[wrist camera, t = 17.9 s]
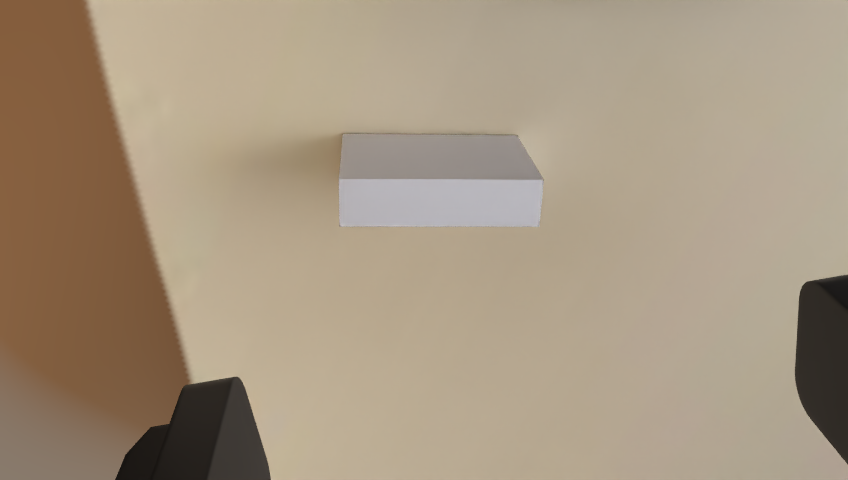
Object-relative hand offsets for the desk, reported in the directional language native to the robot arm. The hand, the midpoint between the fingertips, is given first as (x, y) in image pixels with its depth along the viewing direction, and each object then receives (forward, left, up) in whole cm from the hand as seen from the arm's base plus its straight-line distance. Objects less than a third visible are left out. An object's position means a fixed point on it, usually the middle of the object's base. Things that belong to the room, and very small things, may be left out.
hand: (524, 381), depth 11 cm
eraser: (0, +1, -12) cm, 12 cm away
